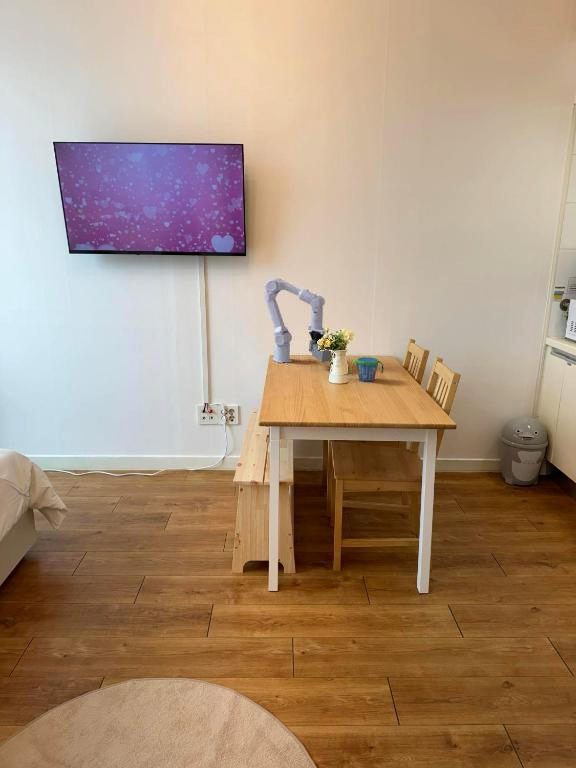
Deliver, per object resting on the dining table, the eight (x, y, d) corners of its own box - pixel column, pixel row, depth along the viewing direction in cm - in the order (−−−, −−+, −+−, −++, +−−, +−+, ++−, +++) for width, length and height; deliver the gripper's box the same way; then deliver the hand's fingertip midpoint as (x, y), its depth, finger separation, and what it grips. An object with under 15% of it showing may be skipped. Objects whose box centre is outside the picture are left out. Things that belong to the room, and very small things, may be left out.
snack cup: (349, 381, 267) (351, 361, 265) (350, 376, 277) (351, 356, 275) (383, 383, 265) (384, 362, 263) (382, 378, 275) (383, 357, 273)
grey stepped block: (306, 351, 295) (307, 340, 293) (323, 349, 300) (324, 339, 297) (321, 362, 282) (322, 350, 279) (339, 360, 286) (340, 349, 284)
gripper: (330, 321, 287) (329, 347, 291) (316, 317, 300) (316, 342, 303) (318, 322, 284) (317, 348, 288) (305, 318, 297) (304, 343, 300)
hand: (316, 345), depth 295 cm, fingers closed on grey stepped block, 2 cm apart
